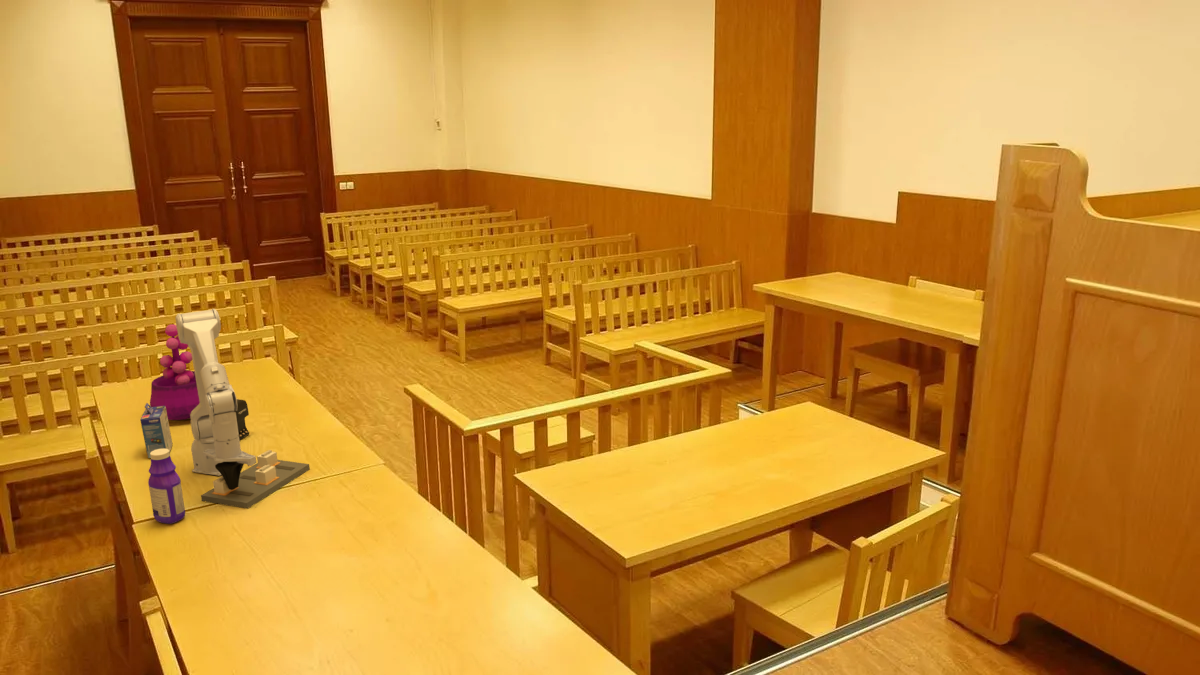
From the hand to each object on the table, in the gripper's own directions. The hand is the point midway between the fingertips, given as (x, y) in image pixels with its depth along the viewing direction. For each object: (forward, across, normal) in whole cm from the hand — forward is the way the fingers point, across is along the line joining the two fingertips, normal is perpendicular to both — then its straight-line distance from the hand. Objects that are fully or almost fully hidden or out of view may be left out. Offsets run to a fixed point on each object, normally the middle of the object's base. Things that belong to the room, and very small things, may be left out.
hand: (233, 488), depth 216 cm
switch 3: (+1, +3, +8) cm, 9 cm away
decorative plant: (+3, -57, +43) cm, 71 cm away
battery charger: (+3, -27, +33) cm, 42 cm away
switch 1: (+1, -3, 0) cm, 3 cm away
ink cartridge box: (+3, -42, +18) cm, 45 cm away
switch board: (+3, 0, +8) cm, 8 cm away
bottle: (+3, -7, -14) cm, 16 cm away
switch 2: (+1, -3, +16) cm, 16 cm away
